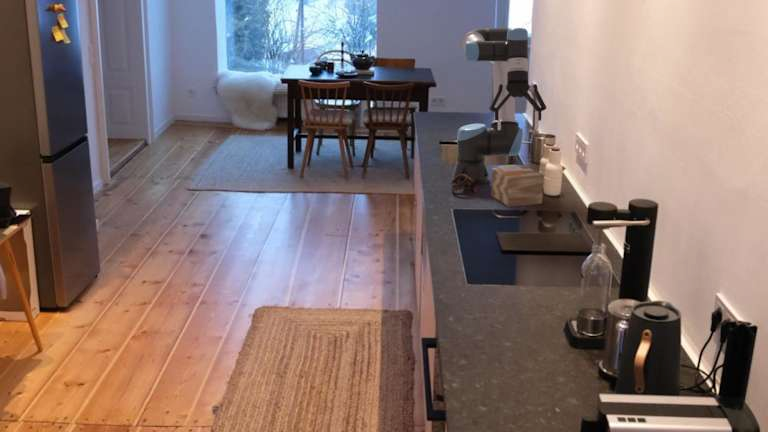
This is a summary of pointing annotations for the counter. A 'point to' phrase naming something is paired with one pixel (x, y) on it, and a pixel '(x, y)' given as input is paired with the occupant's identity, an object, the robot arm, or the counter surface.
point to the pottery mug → (463, 183)
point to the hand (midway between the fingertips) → (518, 129)
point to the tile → (510, 170)
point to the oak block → (517, 187)
